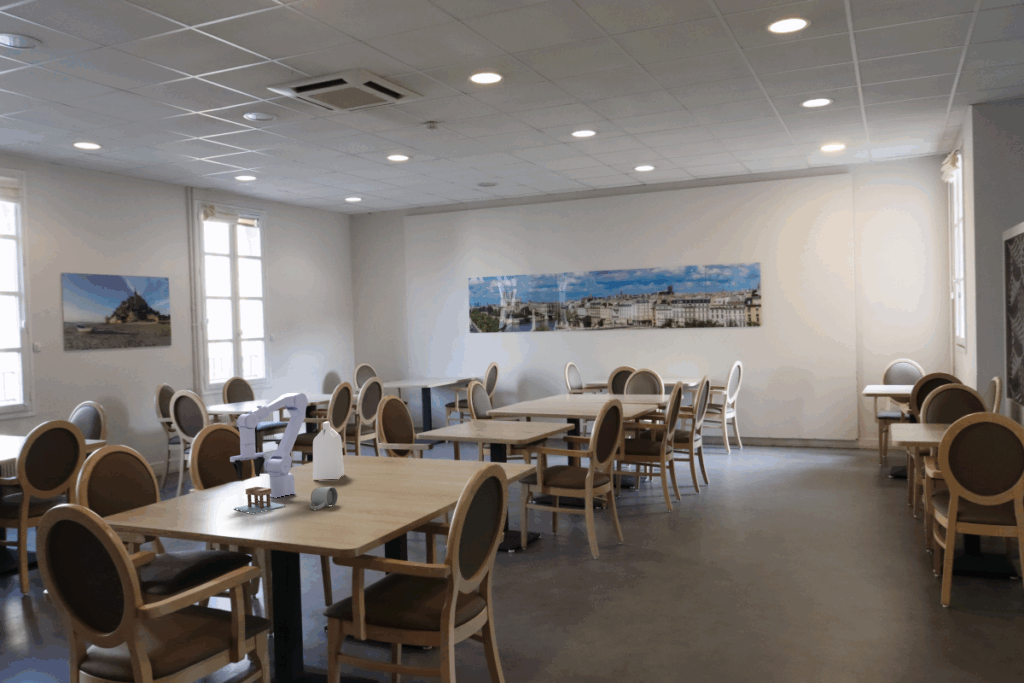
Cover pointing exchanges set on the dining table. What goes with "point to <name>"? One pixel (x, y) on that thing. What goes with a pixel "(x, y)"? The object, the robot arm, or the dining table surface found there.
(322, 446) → the milk
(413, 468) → the dining table surface
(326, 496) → the ceramic mug
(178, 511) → the dining table surface
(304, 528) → the dining table surface
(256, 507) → the mat
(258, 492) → the stool
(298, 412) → the robot arm
